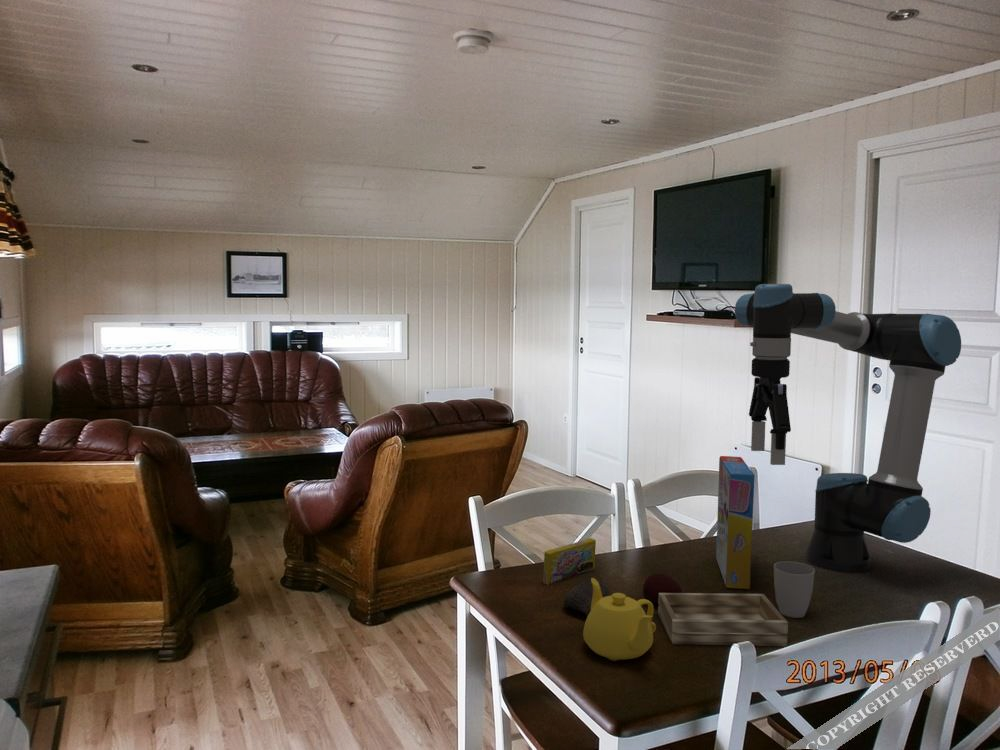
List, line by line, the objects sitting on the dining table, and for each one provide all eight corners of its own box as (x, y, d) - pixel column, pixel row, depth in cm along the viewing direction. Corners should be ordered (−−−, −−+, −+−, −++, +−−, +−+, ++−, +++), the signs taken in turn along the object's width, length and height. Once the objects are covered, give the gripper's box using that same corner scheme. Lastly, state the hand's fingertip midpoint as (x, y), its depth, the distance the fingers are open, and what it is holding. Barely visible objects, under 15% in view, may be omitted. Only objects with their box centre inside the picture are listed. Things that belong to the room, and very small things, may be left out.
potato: (680, 613, 159) (681, 582, 158) (640, 608, 162) (641, 577, 161) (683, 600, 166) (684, 570, 165) (644, 595, 169) (645, 565, 168)
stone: (563, 633, 156) (591, 612, 150) (551, 594, 161) (578, 573, 155) (598, 631, 162) (626, 611, 156) (585, 594, 167) (612, 573, 161)
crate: (762, 616, 158) (763, 593, 157) (786, 647, 144) (788, 622, 143) (658, 615, 158) (658, 592, 157) (672, 646, 144) (673, 621, 143)
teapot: (687, 668, 135) (689, 607, 134) (617, 685, 129) (619, 621, 128) (625, 624, 154) (626, 570, 152) (561, 637, 147) (562, 581, 146)
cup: (805, 606, 163) (808, 561, 162) (817, 622, 155) (820, 575, 154) (767, 604, 164) (769, 560, 163) (777, 620, 156) (779, 574, 155)
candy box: (548, 588, 173) (549, 553, 172) (542, 585, 174) (542, 551, 174) (595, 571, 183) (596, 539, 182) (589, 569, 185) (589, 537, 184)
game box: (750, 590, 172) (755, 474, 169) (725, 589, 173) (730, 473, 170) (737, 559, 192) (741, 455, 189) (715, 558, 193) (719, 455, 190)
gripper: (736, 353, 169) (733, 445, 171) (771, 363, 144) (767, 470, 146) (770, 353, 169) (766, 445, 171) (810, 363, 144) (806, 471, 146)
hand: (767, 457), depth 159 cm, fingers open, 13 cm apart
